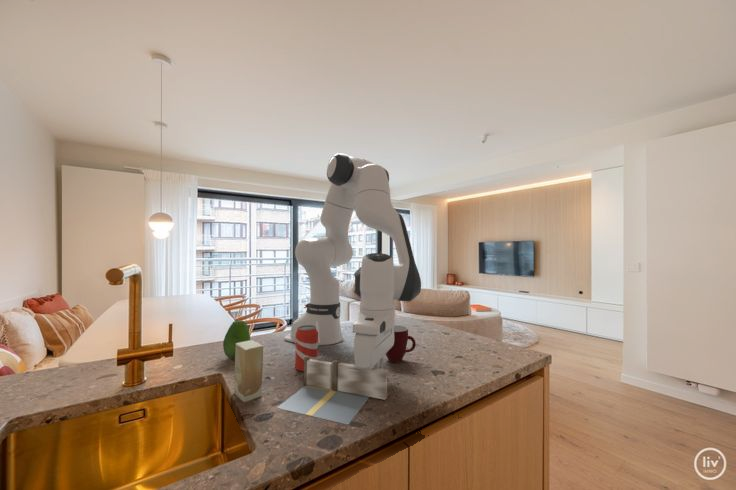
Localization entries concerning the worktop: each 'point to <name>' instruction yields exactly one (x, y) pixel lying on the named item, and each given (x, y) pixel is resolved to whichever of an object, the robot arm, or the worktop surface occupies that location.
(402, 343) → the mug
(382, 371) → the fence panel
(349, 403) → the card
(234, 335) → the fruit
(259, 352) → the skincare box
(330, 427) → the worktop surface
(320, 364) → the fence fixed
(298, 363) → the beverage can
